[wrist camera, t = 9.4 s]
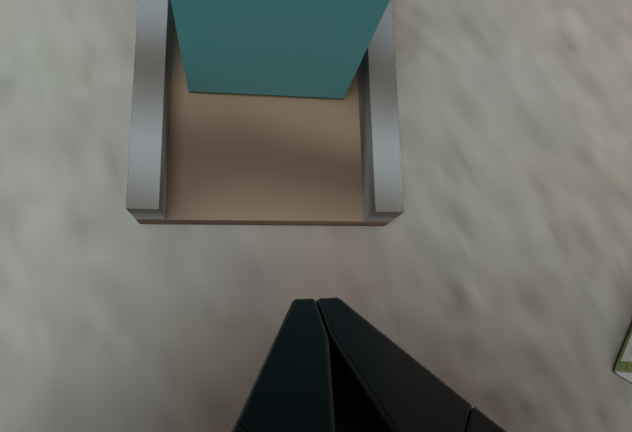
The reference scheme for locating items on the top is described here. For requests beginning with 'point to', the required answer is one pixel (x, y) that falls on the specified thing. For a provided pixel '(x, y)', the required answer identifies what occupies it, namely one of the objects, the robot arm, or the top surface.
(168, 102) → the mount
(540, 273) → the top surface
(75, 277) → the top surface
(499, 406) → the top surface
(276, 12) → the teal tall block
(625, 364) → the syrup box
